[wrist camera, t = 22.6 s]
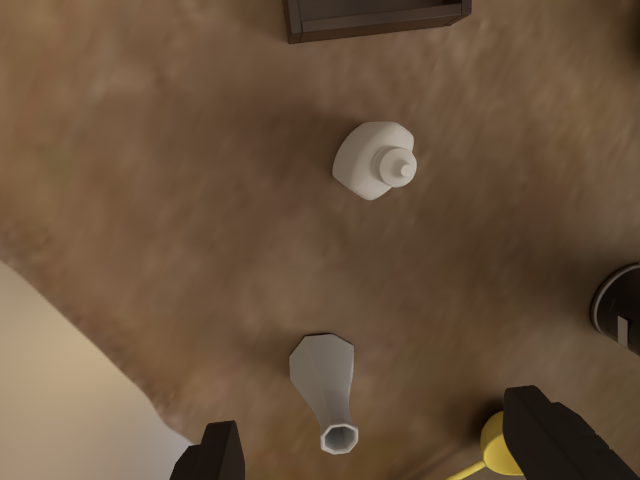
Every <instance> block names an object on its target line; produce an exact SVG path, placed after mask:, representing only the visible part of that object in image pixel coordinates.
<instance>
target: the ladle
mask: <svg viewBox="0 0 640 480" xmlns="http://www.w3.org/2000/svg"><path fill="white" fill-rule="evenodd" d="M502 423H503V411H500V412H498V413H496V414H494V415H493V416H492V417H491V418H489V420H488V421H487V423H486V424H485V426H484V427H483V429H482V433H481V440H480V450H481V454H482V460H480V461H478V462H476V463H474V464H472V465H471V466H469V467H467V468H465V469H463V470H461V471H459V472H458V473H456V474H454V475H452V476H450V477H448V478H446V479H445V480H461V479H463V478H465V477H467V476H468V475H470V474H472V473H474V472H476V471H478V470H480V469H481V468H483V467H485V466H487V467H488V468H490V469H491V470H492V471H495V472H498V473H500V474H505V475H524V474H523V473H522V471H521V470H520V468H519V466H518V465H517V463H516V462H515V460H514V459H513V457H512V455H511V454H510V452H509V450H508V448H507V446H506V443H505V441H504V437H503V432H502Z"/></svg>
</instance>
